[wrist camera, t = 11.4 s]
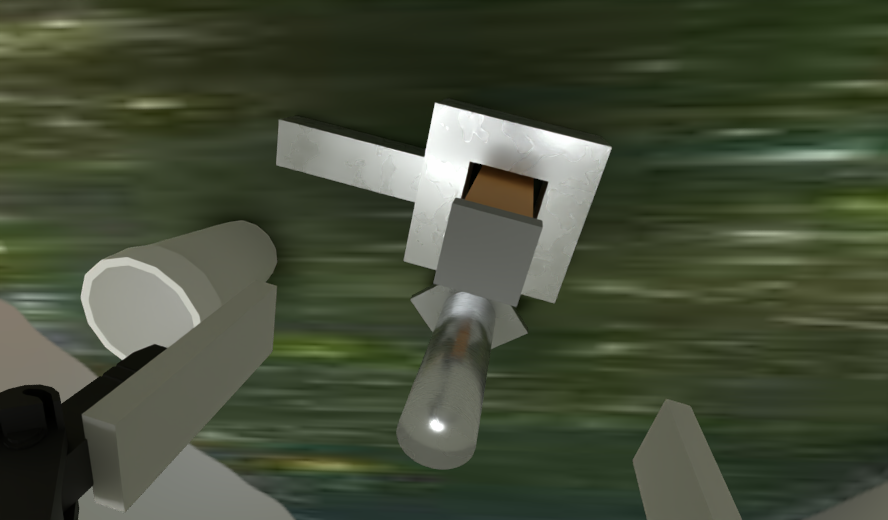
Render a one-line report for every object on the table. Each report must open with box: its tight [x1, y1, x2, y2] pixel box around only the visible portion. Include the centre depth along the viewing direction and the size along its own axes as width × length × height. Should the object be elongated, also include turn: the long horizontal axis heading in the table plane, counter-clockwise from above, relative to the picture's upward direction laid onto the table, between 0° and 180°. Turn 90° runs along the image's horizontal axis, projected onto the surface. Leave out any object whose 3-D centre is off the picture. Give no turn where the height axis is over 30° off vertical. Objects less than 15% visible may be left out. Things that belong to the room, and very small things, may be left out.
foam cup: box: [81, 220, 277, 360], centre depth 38 cm, size 10×9×13 cm
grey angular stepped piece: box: [276, 98, 612, 469], centre depth 32 cm, size 20×24×18 cm
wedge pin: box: [433, 165, 543, 307], centre depth 31 cm, size 5×5×14 cm
